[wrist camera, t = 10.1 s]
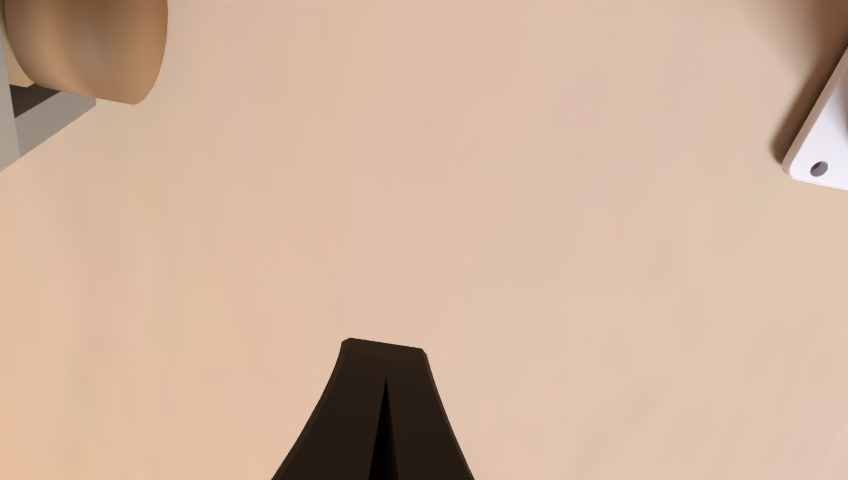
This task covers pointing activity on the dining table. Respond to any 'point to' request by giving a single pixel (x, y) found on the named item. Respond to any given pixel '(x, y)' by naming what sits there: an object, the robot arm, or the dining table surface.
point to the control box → (33, 114)
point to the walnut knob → (85, 45)
